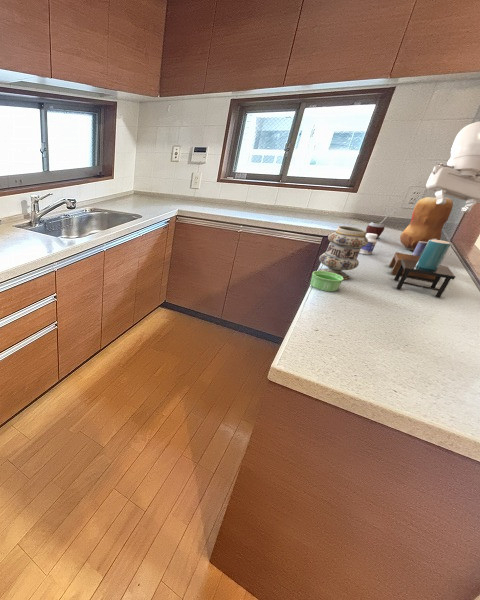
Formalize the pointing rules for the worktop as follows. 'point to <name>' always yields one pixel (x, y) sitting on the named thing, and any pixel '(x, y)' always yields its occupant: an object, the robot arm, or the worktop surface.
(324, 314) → the worktop surface
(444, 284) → the dark brown wooden table
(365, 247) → the pill bottle
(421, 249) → the flask
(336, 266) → the apothecary jar
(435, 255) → the cup
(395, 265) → the brown display stand
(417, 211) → the butternut squash
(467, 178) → the robot arm
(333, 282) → the ramekin
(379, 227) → the mate gourd
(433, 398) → the worktop surface
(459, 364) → the worktop surface
